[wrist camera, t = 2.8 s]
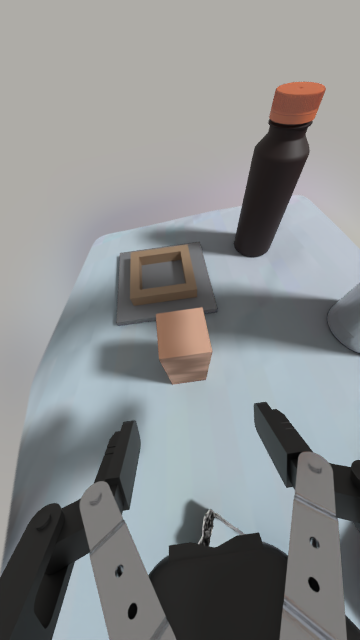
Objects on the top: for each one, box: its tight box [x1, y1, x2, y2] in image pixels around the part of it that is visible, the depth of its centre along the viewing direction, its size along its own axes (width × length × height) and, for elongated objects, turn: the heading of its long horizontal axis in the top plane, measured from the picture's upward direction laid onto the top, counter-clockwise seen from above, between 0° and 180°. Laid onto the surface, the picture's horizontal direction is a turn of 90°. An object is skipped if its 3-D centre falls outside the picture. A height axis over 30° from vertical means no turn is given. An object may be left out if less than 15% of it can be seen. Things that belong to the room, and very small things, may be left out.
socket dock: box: [116, 242, 217, 326], centre depth 33 cm, size 16×16×3 cm
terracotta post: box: [156, 307, 212, 384], centre depth 22 cm, size 4×4×11 cm
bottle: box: [234, 82, 326, 257], centre depth 28 cm, size 7×7×20 cm
